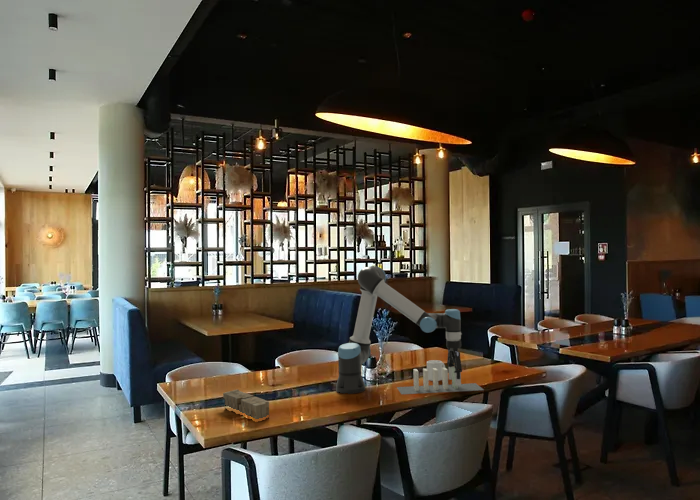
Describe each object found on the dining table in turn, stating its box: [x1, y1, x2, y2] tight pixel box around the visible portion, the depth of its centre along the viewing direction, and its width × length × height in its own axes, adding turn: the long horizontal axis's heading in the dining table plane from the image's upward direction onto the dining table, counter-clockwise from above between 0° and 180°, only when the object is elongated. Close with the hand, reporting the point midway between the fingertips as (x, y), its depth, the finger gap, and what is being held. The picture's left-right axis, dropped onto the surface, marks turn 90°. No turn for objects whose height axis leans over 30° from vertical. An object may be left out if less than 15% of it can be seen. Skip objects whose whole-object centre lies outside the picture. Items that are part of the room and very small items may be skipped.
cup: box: [426, 359, 446, 382], centre depth 294 cm, size 8×12×10 cm
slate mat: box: [396, 382, 485, 395], centre depth 273 cm, size 42×14×1 cm, turn 95°
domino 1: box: [413, 368, 420, 391], centre depth 272 cm, size 2×5×10 cm, turn 5°
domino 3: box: [432, 368, 439, 390], centre depth 273 cm, size 2×5×10 cm, turn 5°
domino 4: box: [441, 367, 449, 390], centre depth 273 cm, size 2×5×10 cm, turn 4°
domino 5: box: [451, 366, 458, 389], centre depth 274 cm, size 2×5×10 cm, turn 5°
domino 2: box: [422, 368, 430, 391], centre depth 272 cm, size 2×5×10 cm, turn 5°
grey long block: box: [222, 389, 270, 419], centre depth 242 cm, size 8×8×29 cm
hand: (454, 382), depth 274 cm, fingers open, 11 cm apart
